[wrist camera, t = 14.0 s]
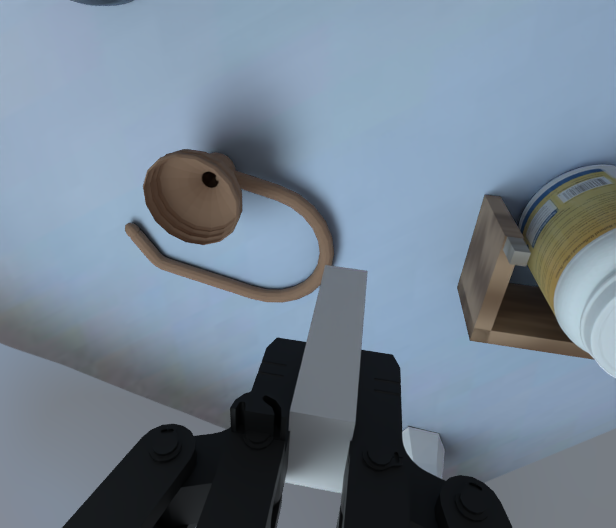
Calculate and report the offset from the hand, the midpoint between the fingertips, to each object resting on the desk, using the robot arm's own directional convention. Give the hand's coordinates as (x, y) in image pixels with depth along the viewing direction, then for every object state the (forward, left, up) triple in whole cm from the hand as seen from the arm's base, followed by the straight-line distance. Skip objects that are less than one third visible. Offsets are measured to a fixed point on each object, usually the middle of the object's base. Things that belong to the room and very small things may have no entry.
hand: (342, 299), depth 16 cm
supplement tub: (+8, +22, -30) cm, 37 cm away
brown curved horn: (+12, -13, -30) cm, 35 cm away
